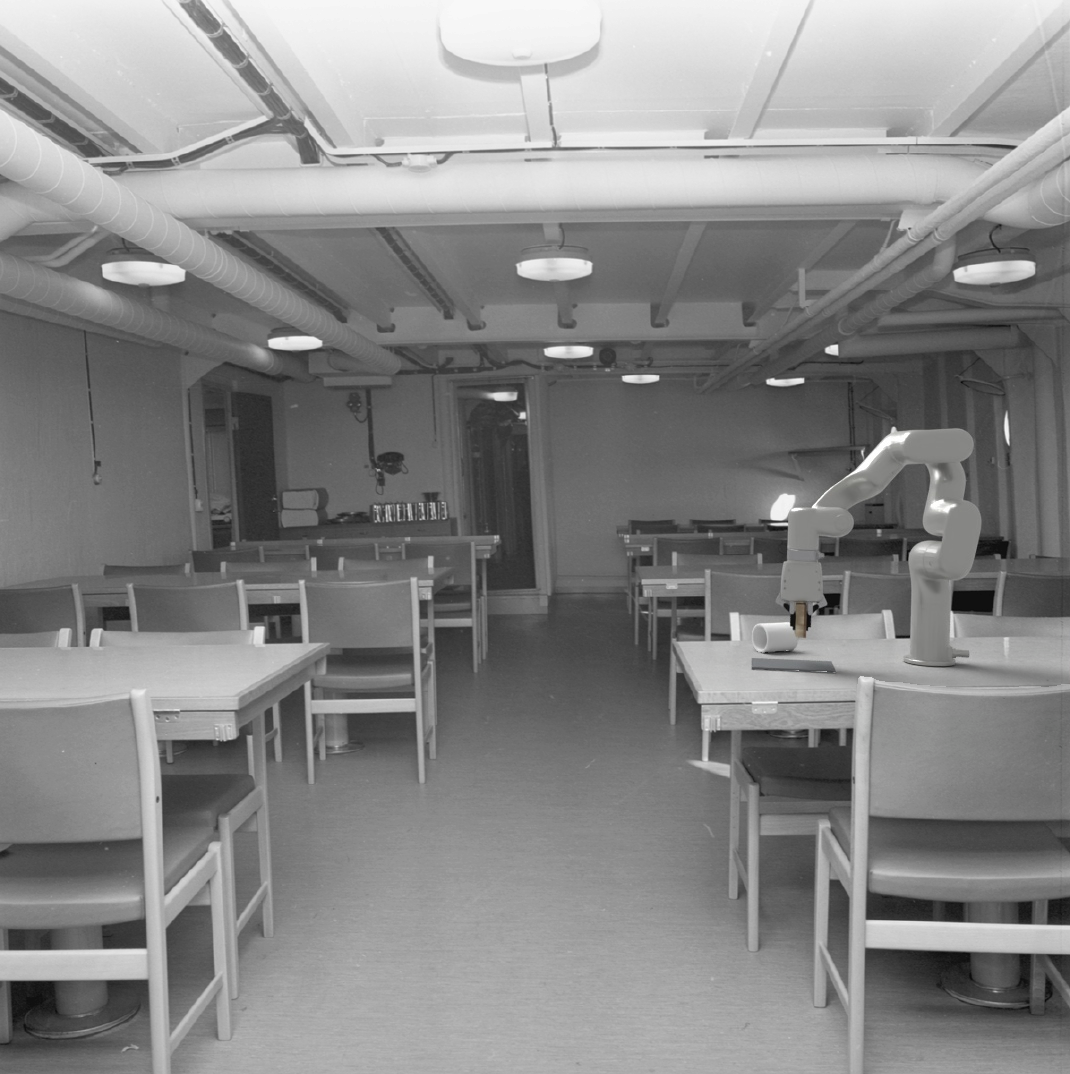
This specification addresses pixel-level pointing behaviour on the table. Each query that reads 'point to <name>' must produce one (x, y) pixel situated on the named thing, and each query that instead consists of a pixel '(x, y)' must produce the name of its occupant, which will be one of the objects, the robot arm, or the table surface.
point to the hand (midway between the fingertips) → (800, 629)
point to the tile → (800, 619)
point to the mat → (792, 665)
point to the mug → (774, 637)
